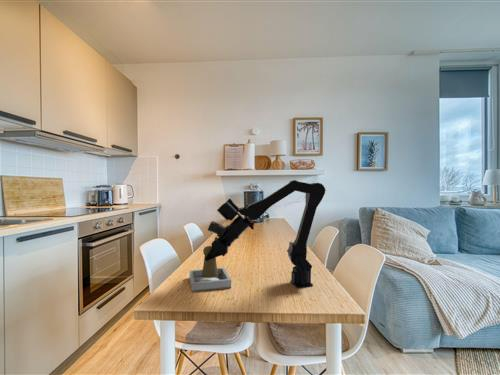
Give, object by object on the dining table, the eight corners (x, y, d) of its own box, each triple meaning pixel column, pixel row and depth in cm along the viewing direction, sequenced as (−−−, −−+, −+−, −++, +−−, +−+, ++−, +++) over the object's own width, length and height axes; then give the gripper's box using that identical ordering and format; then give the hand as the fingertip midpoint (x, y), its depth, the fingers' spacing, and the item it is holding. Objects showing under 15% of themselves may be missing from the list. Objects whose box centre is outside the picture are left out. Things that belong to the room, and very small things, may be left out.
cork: (215, 271, 99) (216, 244, 99) (219, 276, 93) (219, 247, 93) (200, 273, 97) (200, 245, 97) (203, 278, 91) (203, 248, 91)
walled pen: (223, 274, 104) (223, 267, 104) (231, 288, 90) (231, 279, 90) (189, 277, 100) (189, 270, 100) (191, 292, 86) (191, 283, 86)
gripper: (223, 211, 104) (196, 238, 104) (217, 217, 86) (185, 249, 86) (241, 230, 104) (215, 256, 104) (240, 240, 86) (208, 271, 86)
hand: (206, 257), depth 95 cm, fingers closed on cork, 5 cm apart
